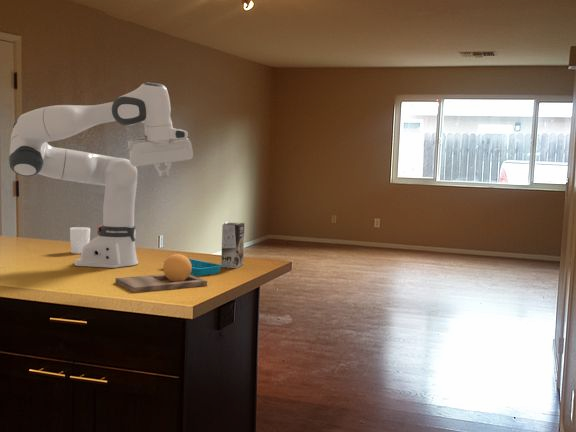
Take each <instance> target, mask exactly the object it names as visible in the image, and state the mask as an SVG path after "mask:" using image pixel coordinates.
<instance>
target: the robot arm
mask: <svg viewBox="0 0 576 432" xmlns="http://www.w3.org/2000/svg"><path fill="white" fill-rule="evenodd" d="M171 110H172V107H171V99H170V95H169V92H168V89H167V87H166V86H165V85H164V84H161V83H158V82H148V81H147V82H144V83H142V84H141V85H140V86H139V87H138V88H136V89H133V90H132V91H130V92H128V93H125V94H123V95H121V96H119V97H117V98H116V99H115V100H114V101H110V102H106V103H101V104H100V103H99V104H94V105H93V104H91V105H81V104H79V105H76V104H75V105H74V104H60V105H59V104H58V105H50V106H44V107H40V108H36V109H33V110H30V111H27V112H25V113H23V114H19V116H17V117H16V119H15V121H14V123H13V129H12V132H11V136H10V142H9V143H10V146H9V157H8V162H9V163H8V165H9V168H10V170H11V171H12V172H14V173H16V174H17V175H19V176H22V177H33V176H35V175H41V176H44V177H47V178H51V179H55V180H61V181H67V182H74V183H75V182H76V183H80V184H81V183H82V184H87V185H88V184H90V185H97V186H104V197H103V207H102V208H103V209H102V210H103V212H102V213H103V215H102V217H103V218H102V219H103V220H102V221H103V222H102V224H103V225H102V224H101V225H99V226H98V227H97V229H96V230H97V232H96V233H97V236H95V237H94V238H93V239H91V240H90V242H89V243H88V244H86V245H85V246H84V247H83V250H82V253H81V254H80V258H77V259H76V260H75V261H74V266H77V267H91V268H92V267H94V268H108V269H109V268H112V269H113V268H114V269H115V268H116V269H117V268H122V267H130V266H136V265H138V264H139V260H138V255H137V251H136V243H135V242H136V238H137V237H136V235H137V229H136V225H135V205H136V196H137V195H136V194H137V186H138V168H137V167H142V166H151V165H153V166H154V168H155V170H156V171H157V172H158V177H159V178H164V177H165V178H166V177H170V175H169V174H170V173H169V171H170V169H171V167H172V163H173V162H174V163H175V162H179V161H181V162H182V161H190V160H192V159H193V157H194V151H193V146H192V142H191V140H190V139H189V138H188V137H189V133H188V131H187V130H184V129H180V128H178V127H173V121H172V117H171V113H172V111H171ZM111 122H117V123H118V124H120V125H123V126H129V127H130V126H134V125H137V124H139V123H142V124H143V127H144V134H145V135H139V136H132V137H131V138H130V139H128V141H127V149H128V151H129V159H127V158H124V157H114V156H111V155H110V156H109V155H105V154H100V153H99V154H98V153H93V152H86V151H80V150H74V149H69V148H64V147H63V148H61V147H55V146H52V145H50V144H49V143H48V142H56V141H62V140H64V139H68V138H71V137H73V136H76V135H79V134H80V133H83V132H84V131H86V130H88V129H90V128H93V127H95V126H98V125H101V124H106V123H111ZM161 164H165V166H166V167H165V169H164V170H161V169H160V167H161Z"/></svg>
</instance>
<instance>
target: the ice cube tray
mask: <svg viewBox="0 0 576 432" xmlns="http://www.w3.org/2000/svg"><path fill="white" fill-rule="evenodd" d="M188 259H189V260H190V262H191V266H192V270H191V273H190V274H191V275H193V276H196V277H202V276H208V275H209V274H210V275H215V274H216V273H217V274H220V271H221V268H223V267H222V266H223V265H221V264H218V263H213V262H208V261H205V260H204V261H203V260H198V259H193V258H188ZM165 261H166V260H163V264H164V263H165ZM210 275H209V276H210Z"/></svg>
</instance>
